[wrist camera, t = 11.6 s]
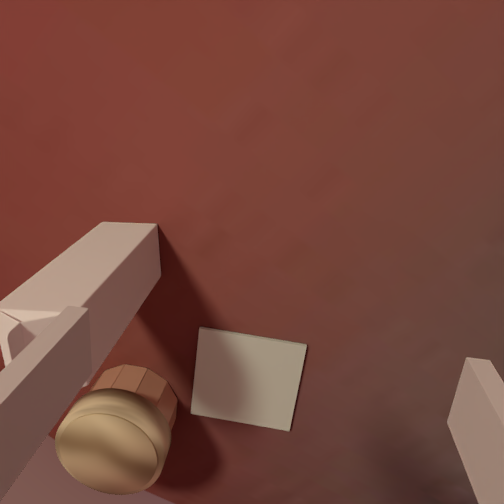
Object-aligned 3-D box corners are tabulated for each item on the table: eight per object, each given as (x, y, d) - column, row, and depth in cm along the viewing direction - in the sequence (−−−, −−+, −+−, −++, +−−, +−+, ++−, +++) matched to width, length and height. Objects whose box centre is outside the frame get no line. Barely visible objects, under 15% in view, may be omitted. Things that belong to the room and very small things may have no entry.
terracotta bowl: (179, 373, 55) (167, 405, 50) (173, 441, 59) (161, 477, 54) (93, 358, 56) (72, 388, 51) (93, 427, 60) (73, 461, 55)
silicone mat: (306, 344, 52) (306, 346, 52) (289, 428, 57) (289, 431, 56) (200, 326, 53) (199, 328, 52) (191, 411, 57) (190, 413, 57)
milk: (158, 223, 49) (55, 336, 28) (161, 276, 51) (69, 417, 30) (100, 221, 49) (-41, 331, 29) (107, 274, 51) (-21, 411, 31)
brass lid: (168, 478, 54) (159, 505, 51) (70, 461, 55) (55, 486, 51) (174, 397, 50) (165, 420, 46) (67, 380, 50) (51, 401, 47)
